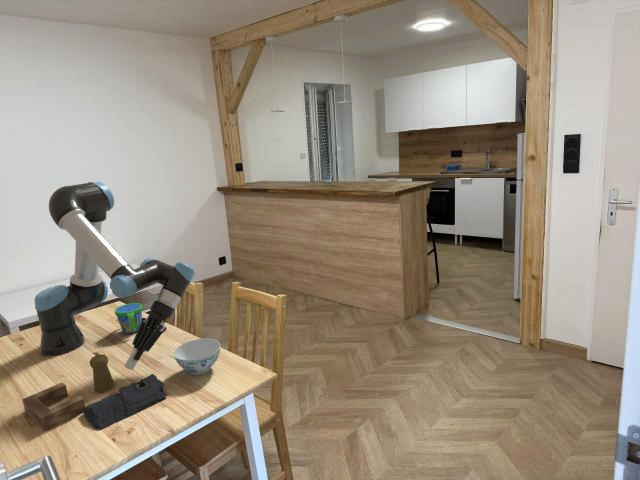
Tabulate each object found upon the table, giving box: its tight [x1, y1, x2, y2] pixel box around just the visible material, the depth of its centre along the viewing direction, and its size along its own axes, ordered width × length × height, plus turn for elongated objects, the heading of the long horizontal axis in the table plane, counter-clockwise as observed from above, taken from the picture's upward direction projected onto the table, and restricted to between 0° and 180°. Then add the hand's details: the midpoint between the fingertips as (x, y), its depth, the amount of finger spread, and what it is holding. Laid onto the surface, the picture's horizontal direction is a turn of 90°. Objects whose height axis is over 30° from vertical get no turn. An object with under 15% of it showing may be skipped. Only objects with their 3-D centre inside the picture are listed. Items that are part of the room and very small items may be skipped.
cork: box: [89, 354, 116, 394], centre depth 140 cm, size 6×6×11 cm
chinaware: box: [173, 337, 221, 376], centre depth 147 cm, size 15×15×8 cm
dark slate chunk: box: [82, 373, 168, 431], centre depth 131 cm, size 15×22×5 cm
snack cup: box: [114, 302, 143, 334], centre depth 183 cm, size 16×10×10 cm
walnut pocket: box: [21, 382, 86, 432], centre depth 130 cm, size 11×16×4 cm
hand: (128, 368), depth 146 cm, fingers closed
